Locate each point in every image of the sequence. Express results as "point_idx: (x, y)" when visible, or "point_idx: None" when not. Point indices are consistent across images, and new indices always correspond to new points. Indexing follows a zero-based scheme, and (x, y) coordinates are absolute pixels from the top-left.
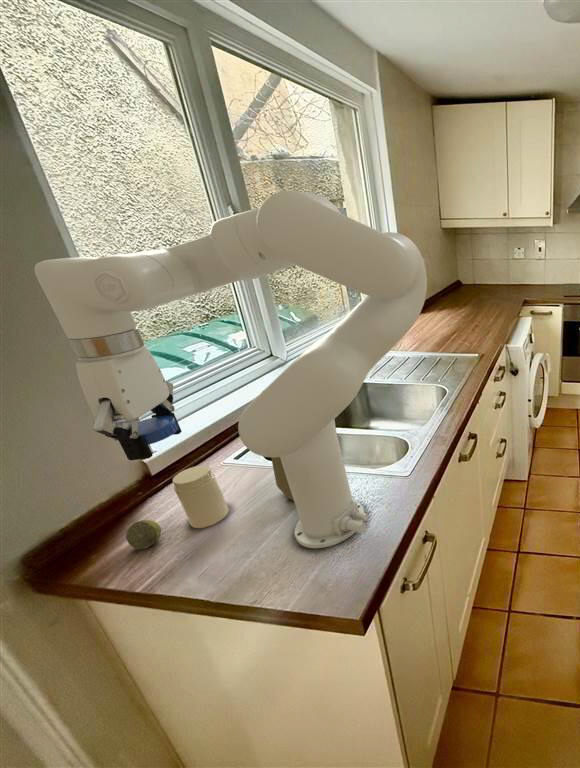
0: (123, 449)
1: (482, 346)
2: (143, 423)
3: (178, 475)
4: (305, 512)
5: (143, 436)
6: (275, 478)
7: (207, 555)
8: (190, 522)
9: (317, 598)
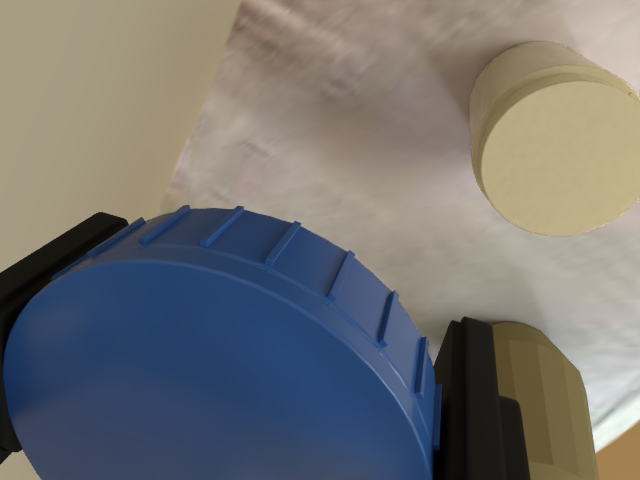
0: (33, 254)
1: None
2: (282, 428)
3: (595, 100)
4: None
5: (6, 452)
6: (506, 362)
7: (319, 143)
8: (496, 60)
9: None
